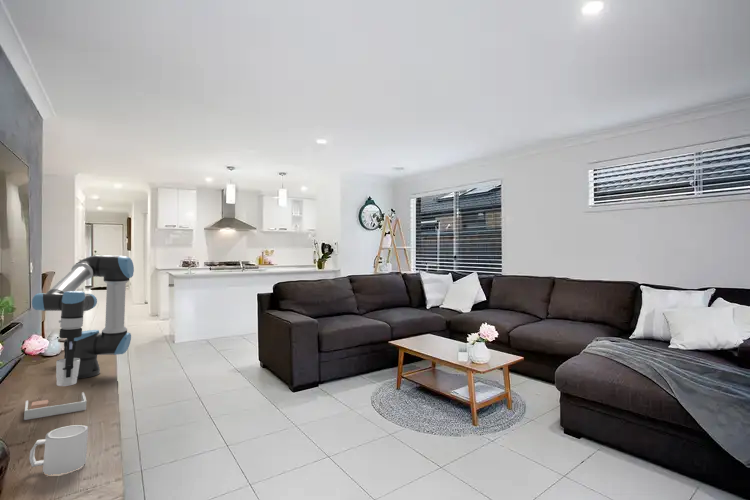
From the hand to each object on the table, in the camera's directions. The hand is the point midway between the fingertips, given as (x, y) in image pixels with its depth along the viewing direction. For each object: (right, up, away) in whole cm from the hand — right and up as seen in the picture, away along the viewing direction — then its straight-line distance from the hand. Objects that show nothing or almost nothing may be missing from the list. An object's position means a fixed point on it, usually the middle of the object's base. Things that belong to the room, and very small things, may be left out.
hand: (66, 382), depth 163 cm
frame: (-2, -10, -3) cm, 11 cm away
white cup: (0, -1, 0) cm, 1 cm away
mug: (+35, -10, -46) cm, 59 cm away
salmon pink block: (-6, -10, -7) cm, 13 cm away
